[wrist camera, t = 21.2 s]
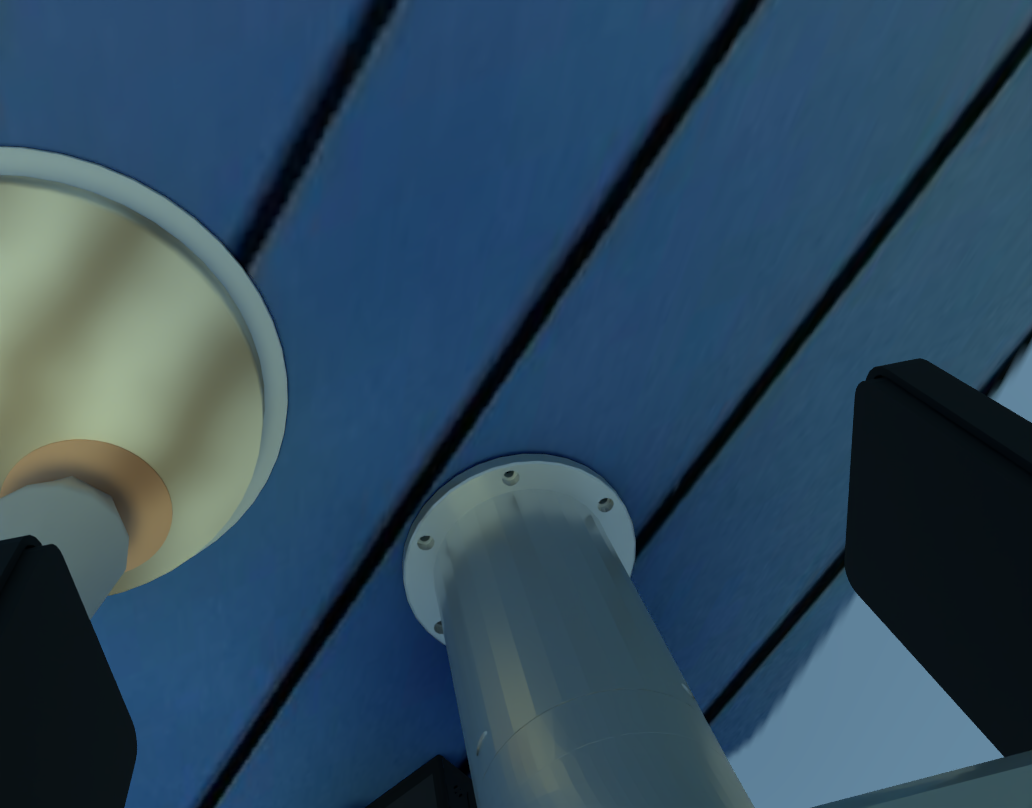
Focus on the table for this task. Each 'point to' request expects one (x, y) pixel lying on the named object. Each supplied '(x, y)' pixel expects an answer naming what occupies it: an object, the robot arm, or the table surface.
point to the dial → (123, 370)
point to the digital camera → (431, 788)
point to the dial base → (205, 249)
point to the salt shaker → (72, 532)
